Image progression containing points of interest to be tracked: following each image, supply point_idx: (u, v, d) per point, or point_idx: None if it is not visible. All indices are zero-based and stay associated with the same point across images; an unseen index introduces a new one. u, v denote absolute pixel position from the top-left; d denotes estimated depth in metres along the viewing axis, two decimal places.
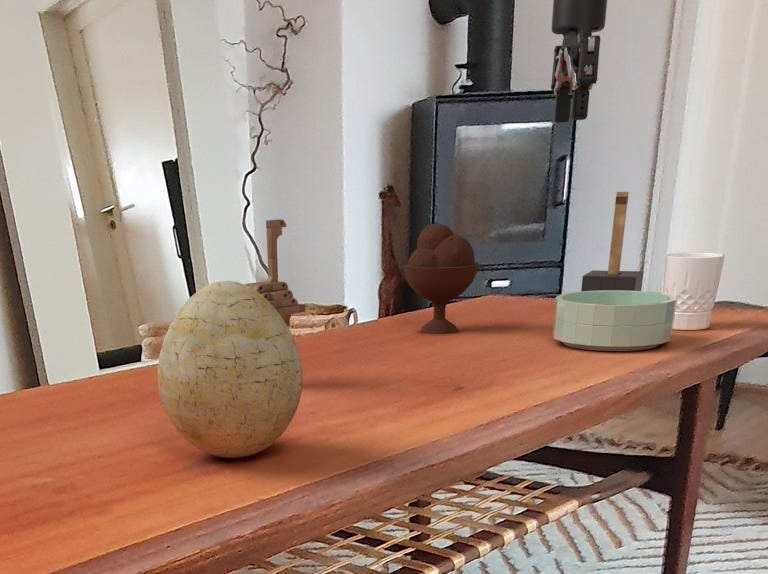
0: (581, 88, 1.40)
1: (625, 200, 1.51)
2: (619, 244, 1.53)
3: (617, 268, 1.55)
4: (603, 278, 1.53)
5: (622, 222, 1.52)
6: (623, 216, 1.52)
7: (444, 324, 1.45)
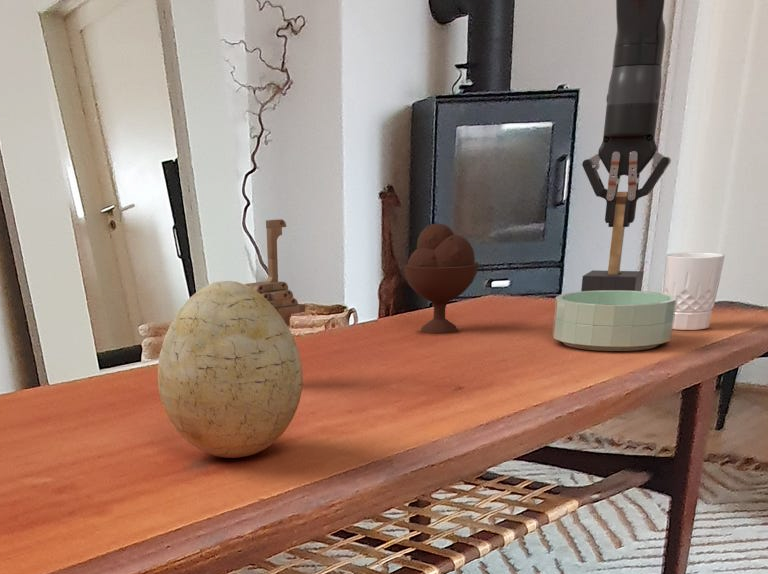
0: (637, 199, 1.50)
1: (625, 200, 1.51)
2: (619, 244, 1.53)
3: (617, 268, 1.55)
4: (603, 278, 1.53)
5: (622, 222, 1.52)
6: (623, 216, 1.52)
7: (444, 324, 1.45)
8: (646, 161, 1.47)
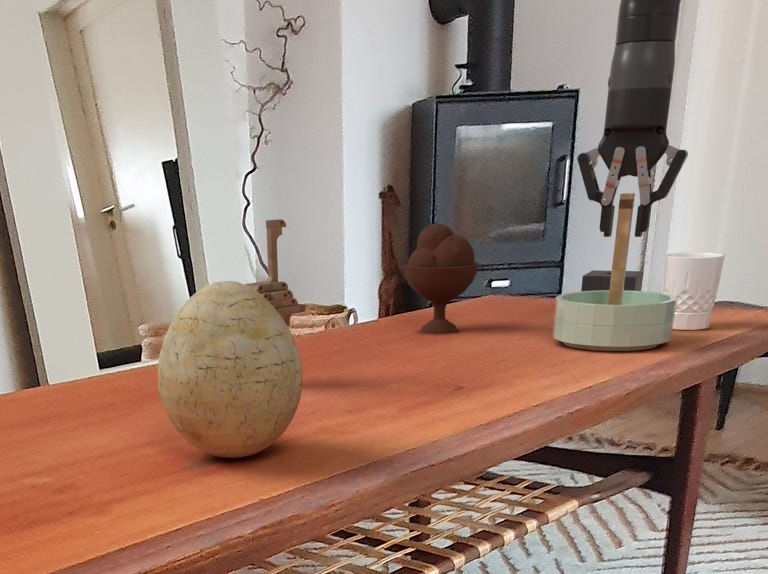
0: (651, 203, 1.24)
1: (630, 203, 1.25)
2: (623, 256, 1.28)
3: (621, 285, 1.29)
4: (603, 278, 1.53)
5: (627, 230, 1.26)
6: (628, 223, 1.26)
7: (444, 324, 1.45)
8: (656, 158, 1.22)
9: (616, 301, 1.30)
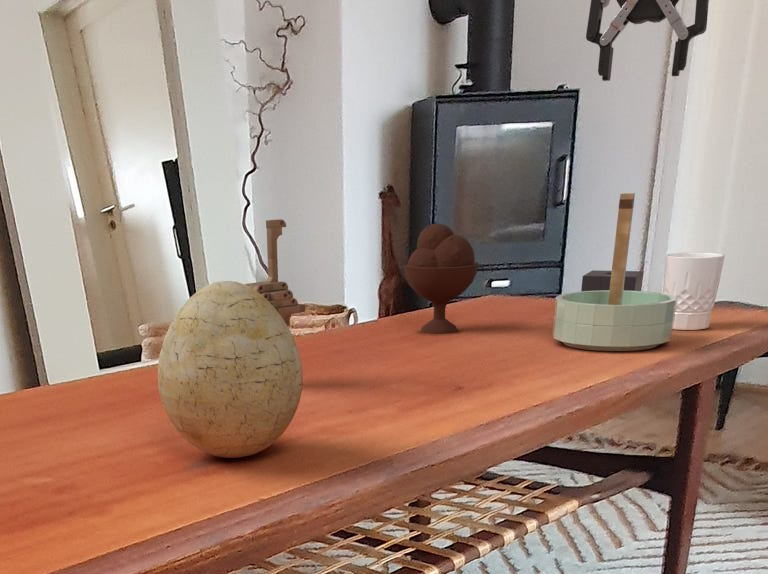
0: (689, 38, 1.20)
1: (630, 203, 1.25)
2: (623, 256, 1.28)
3: (621, 285, 1.29)
4: (603, 278, 1.53)
5: (627, 230, 1.26)
6: (628, 223, 1.26)
7: (444, 324, 1.45)
8: (674, 0, 1.19)
9: (616, 301, 1.30)
